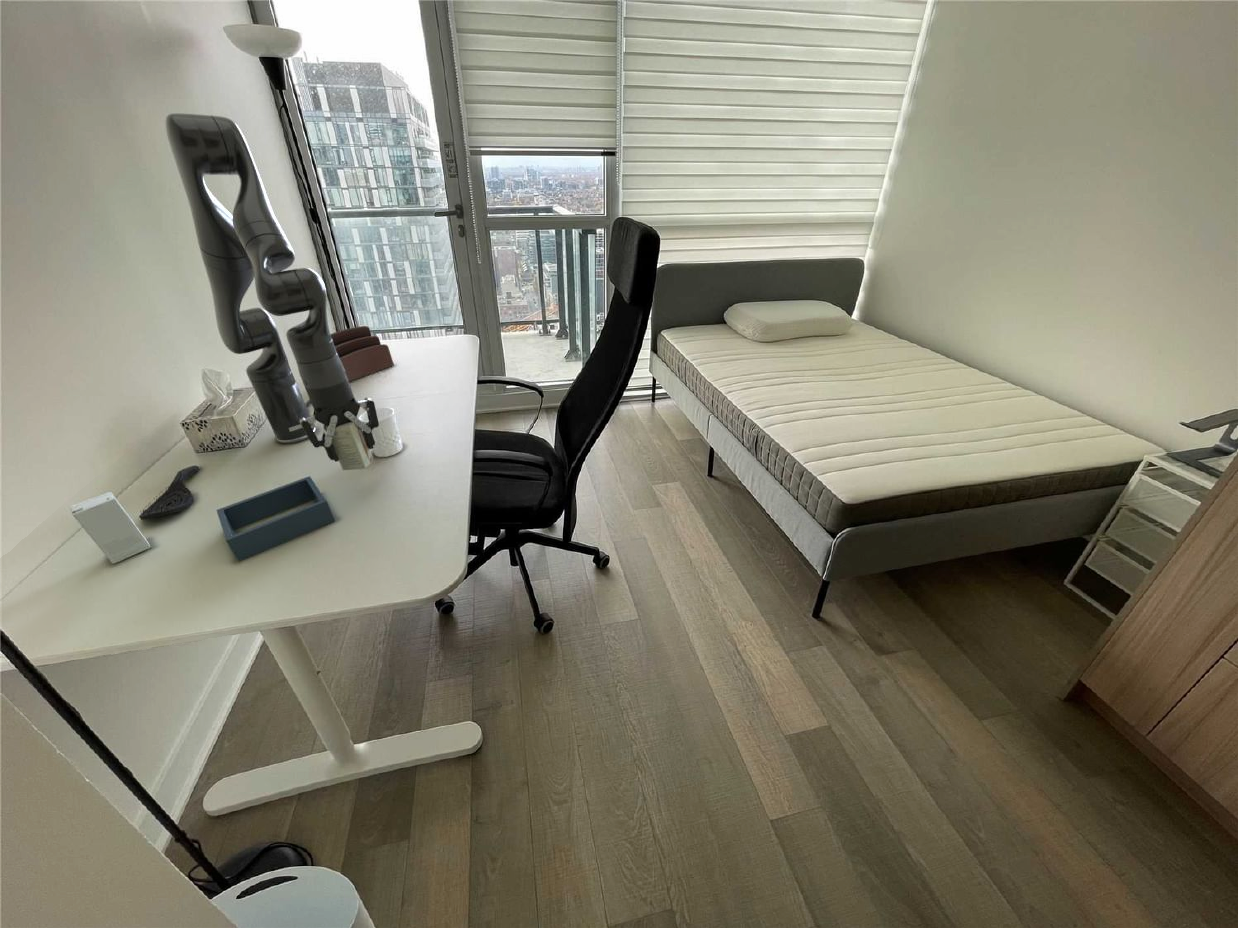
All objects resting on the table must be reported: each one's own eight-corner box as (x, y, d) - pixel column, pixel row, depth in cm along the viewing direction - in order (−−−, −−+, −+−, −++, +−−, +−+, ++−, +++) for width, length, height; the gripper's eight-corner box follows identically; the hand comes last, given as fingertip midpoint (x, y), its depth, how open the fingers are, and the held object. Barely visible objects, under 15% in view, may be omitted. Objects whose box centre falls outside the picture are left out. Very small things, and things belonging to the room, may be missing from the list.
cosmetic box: (146, 539, 101) (111, 489, 95) (152, 548, 99) (116, 497, 93) (107, 556, 98) (67, 505, 91) (111, 566, 95) (71, 514, 89)
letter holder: (325, 379, 172) (310, 338, 165) (378, 361, 185) (366, 322, 178) (341, 385, 167) (325, 343, 159) (394, 365, 180) (382, 326, 173)
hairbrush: (209, 454, 125) (173, 505, 104) (216, 467, 126) (182, 519, 106) (168, 462, 122) (124, 516, 102) (176, 476, 124) (134, 531, 103)
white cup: (393, 459, 123) (381, 422, 118) (365, 457, 125) (351, 421, 120) (411, 443, 130) (400, 407, 125) (383, 441, 132) (371, 406, 126)
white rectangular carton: (373, 458, 111) (359, 416, 105) (366, 469, 107) (350, 426, 102) (349, 460, 111) (333, 418, 105) (341, 470, 107) (324, 428, 102)
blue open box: (227, 529, 103) (216, 509, 100) (318, 494, 112) (309, 475, 109) (238, 561, 94) (226, 540, 92) (335, 521, 103) (326, 501, 101)
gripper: (357, 364, 105) (381, 435, 114) (279, 385, 97) (312, 460, 106) (369, 373, 100) (394, 447, 109) (288, 396, 92) (321, 474, 101)
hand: (353, 453), depth 107 cm, fingers closed on white rectangular carton, 6 cm apart
